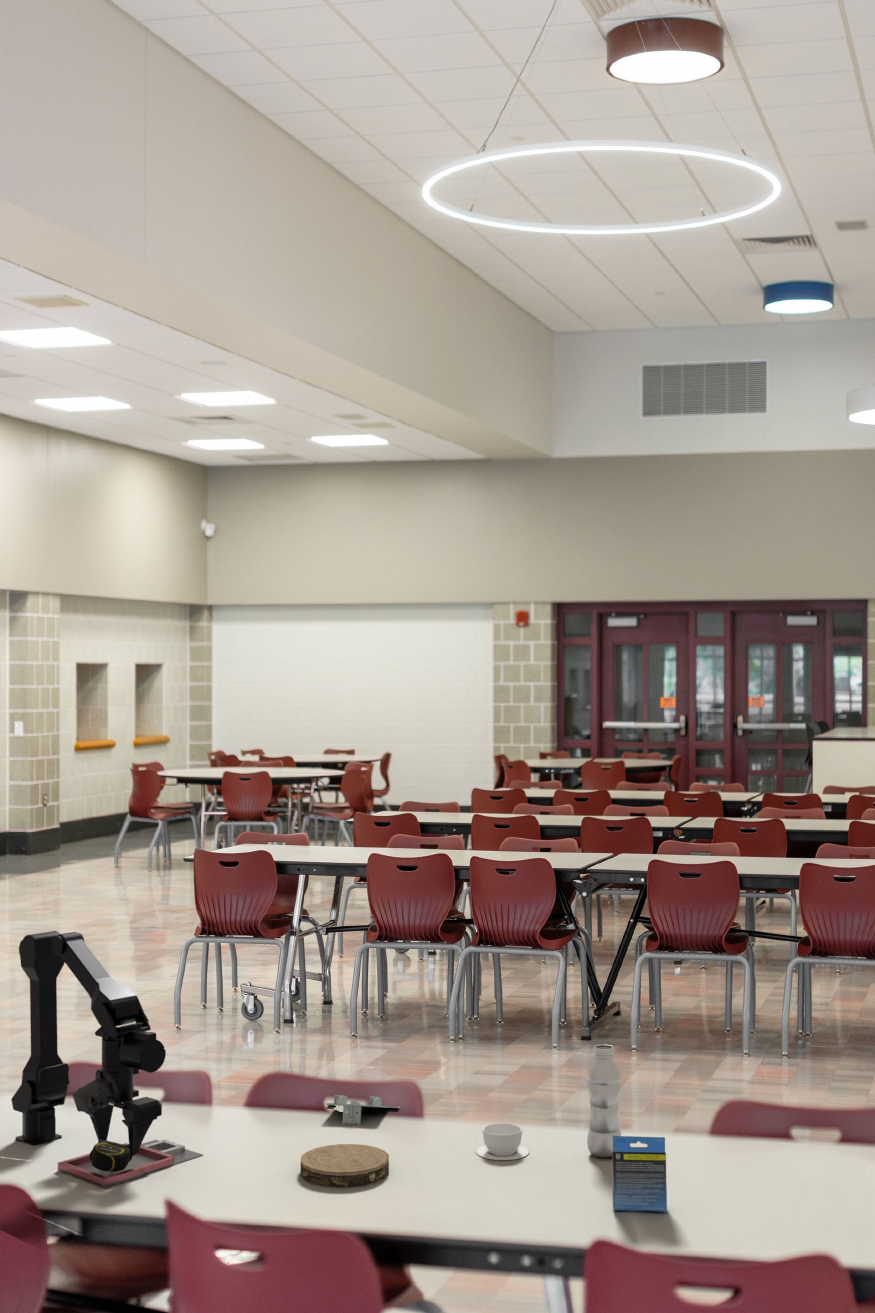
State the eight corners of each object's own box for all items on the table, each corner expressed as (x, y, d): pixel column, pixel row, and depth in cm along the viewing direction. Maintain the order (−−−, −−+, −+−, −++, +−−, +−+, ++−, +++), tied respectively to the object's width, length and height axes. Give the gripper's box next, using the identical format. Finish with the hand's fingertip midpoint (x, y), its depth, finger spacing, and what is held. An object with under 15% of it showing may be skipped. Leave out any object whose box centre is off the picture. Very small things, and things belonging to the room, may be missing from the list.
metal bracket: (388, 1097, 289) (315, 1094, 292) (387, 1128, 287) (313, 1124, 290) (402, 1098, 303) (331, 1095, 305) (400, 1128, 301) (330, 1124, 303)
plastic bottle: (582, 1159, 268) (581, 1049, 269) (593, 1148, 275) (592, 1041, 275) (616, 1163, 266) (615, 1052, 267) (626, 1152, 272) (625, 1044, 273)
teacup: (512, 1166, 266) (512, 1140, 266) (465, 1157, 271) (465, 1131, 271) (538, 1151, 274) (538, 1126, 274) (493, 1143, 279) (492, 1118, 279)
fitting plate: (57, 1171, 263) (57, 1163, 263) (155, 1143, 280) (155, 1134, 280) (104, 1188, 254) (104, 1179, 254) (203, 1158, 271) (203, 1149, 271)
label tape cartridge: (666, 1204, 245) (665, 1130, 245) (667, 1213, 241) (666, 1137, 241) (612, 1203, 246) (611, 1129, 246) (612, 1211, 242) (612, 1136, 242)
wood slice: (282, 1175, 261) (281, 1159, 261) (346, 1154, 273) (346, 1138, 273) (343, 1196, 250) (343, 1178, 251) (407, 1173, 262) (407, 1156, 262)
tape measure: (133, 1164, 264) (136, 1144, 264) (118, 1180, 258) (121, 1160, 257) (98, 1155, 265) (101, 1135, 265) (82, 1171, 259) (85, 1151, 258)
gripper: (50, 1063, 265) (49, 1150, 265) (112, 1081, 253) (112, 1172, 252) (101, 1052, 274) (101, 1136, 273) (163, 1068, 261) (163, 1156, 261)
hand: (117, 1150), depth 265 cm, fingers open, 9 cm apart
